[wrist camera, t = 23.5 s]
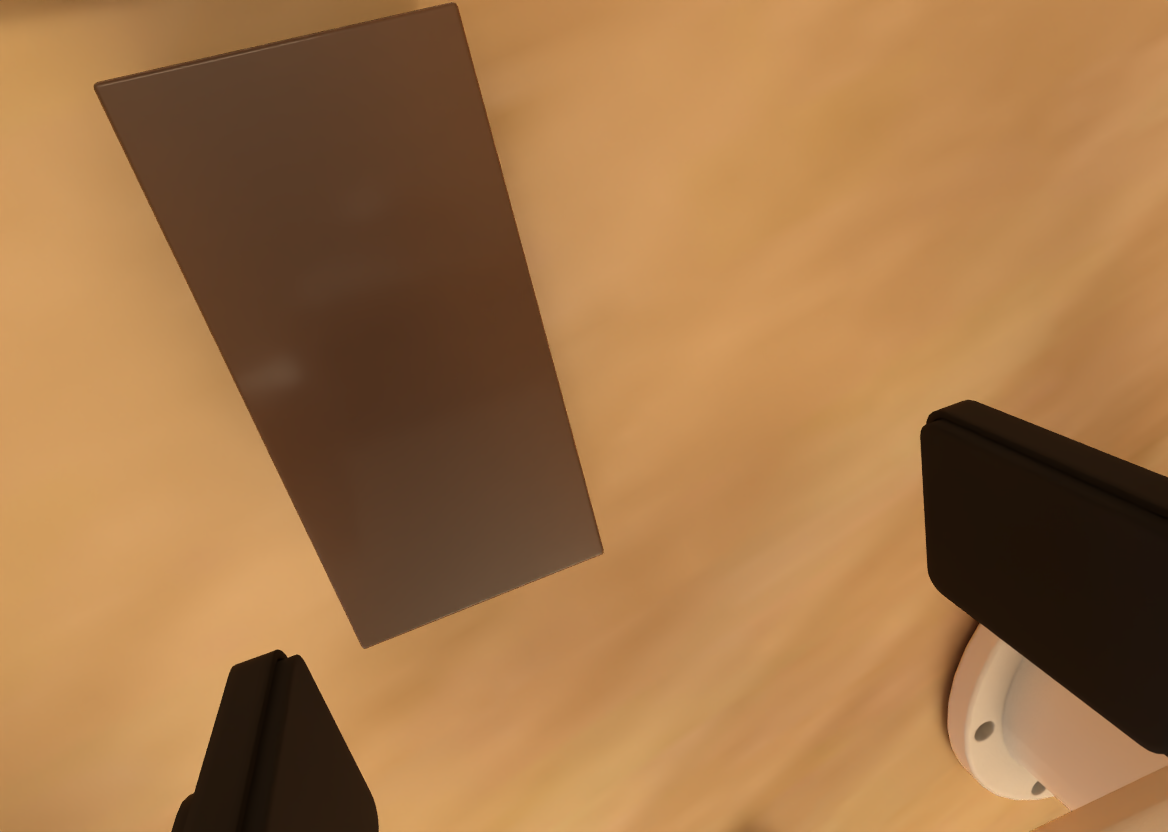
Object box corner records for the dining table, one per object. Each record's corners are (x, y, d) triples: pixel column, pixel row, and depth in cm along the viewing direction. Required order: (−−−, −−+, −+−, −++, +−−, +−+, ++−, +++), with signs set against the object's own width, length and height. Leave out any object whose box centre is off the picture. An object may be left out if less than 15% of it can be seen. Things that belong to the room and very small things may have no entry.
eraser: (426, 27, 13) (459, -18, 10) (554, 472, 18) (612, 560, 14) (152, 90, 12) (73, 68, 9) (356, 545, 17) (361, 661, 13)
